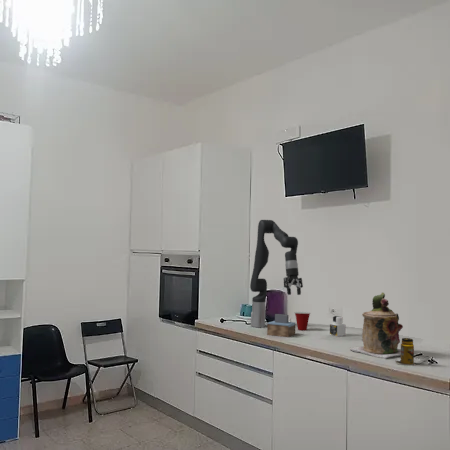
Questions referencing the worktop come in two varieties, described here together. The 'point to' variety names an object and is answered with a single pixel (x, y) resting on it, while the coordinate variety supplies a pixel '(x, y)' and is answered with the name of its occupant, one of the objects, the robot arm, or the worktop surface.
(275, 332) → the wooden box
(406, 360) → the condiment
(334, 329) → the medicine bottle
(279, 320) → the cover plate
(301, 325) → the plastic cup
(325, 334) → the worktop surface
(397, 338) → the cookie jar
